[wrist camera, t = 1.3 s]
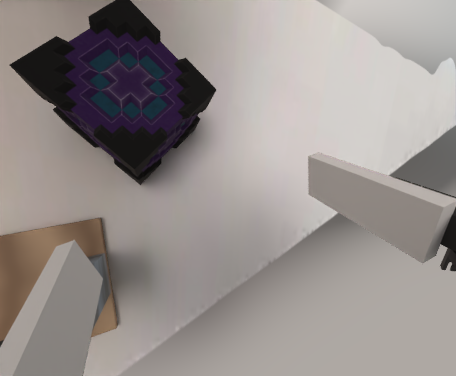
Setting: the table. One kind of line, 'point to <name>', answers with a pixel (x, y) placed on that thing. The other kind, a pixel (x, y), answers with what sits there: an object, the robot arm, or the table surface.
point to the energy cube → (120, 87)
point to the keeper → (36, 261)
